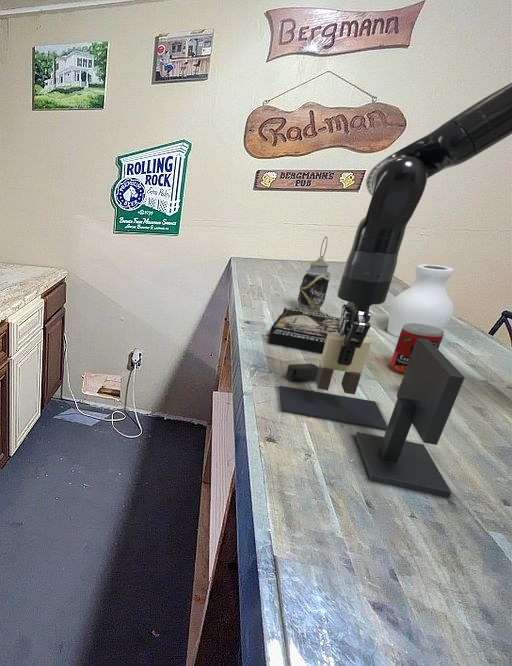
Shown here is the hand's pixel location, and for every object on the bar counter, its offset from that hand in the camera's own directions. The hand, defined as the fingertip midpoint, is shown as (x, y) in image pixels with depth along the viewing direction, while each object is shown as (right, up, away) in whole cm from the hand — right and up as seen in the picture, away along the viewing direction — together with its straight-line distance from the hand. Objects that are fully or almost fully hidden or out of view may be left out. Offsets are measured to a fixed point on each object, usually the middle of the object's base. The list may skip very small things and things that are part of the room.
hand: (342, 360), depth 91 cm
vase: (+51, +8, +44) cm, 68 cm away
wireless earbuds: (+2, -4, +18) cm, 18 cm away
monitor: (0, -18, -14) cm, 22 cm away
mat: (0, -10, +4) cm, 11 cm away
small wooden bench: (0, -5, +2) cm, 6 cm away
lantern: (+33, +17, +66) cm, 76 cm away
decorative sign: (+21, +7, +44) cm, 49 cm away
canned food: (+30, -3, +21) cm, 37 cm away
